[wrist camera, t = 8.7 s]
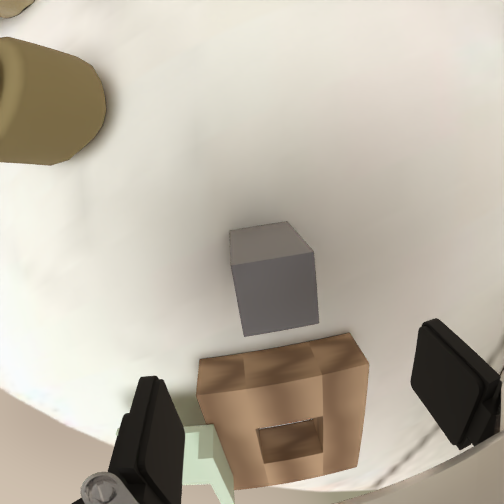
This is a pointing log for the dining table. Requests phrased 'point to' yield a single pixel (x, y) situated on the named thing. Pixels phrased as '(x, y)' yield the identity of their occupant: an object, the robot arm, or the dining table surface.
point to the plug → (273, 278)
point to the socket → (287, 409)
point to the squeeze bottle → (46, 103)
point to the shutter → (206, 462)
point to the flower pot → (13, 7)
